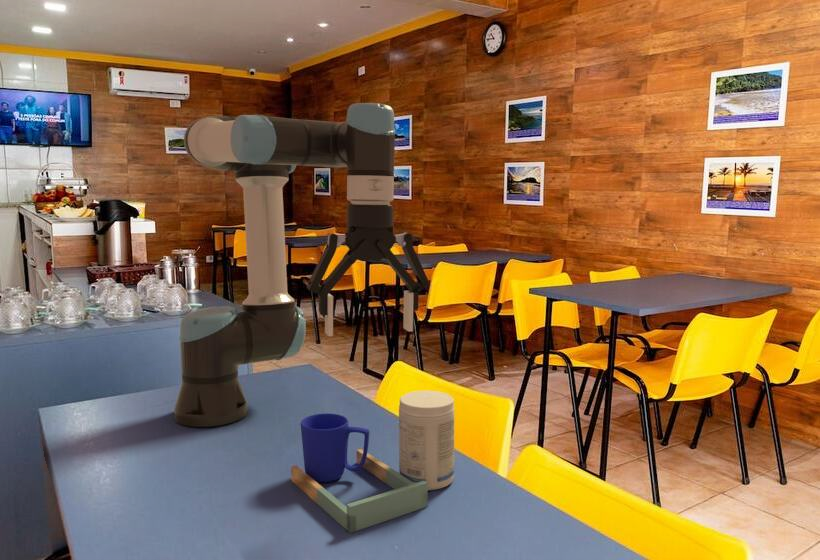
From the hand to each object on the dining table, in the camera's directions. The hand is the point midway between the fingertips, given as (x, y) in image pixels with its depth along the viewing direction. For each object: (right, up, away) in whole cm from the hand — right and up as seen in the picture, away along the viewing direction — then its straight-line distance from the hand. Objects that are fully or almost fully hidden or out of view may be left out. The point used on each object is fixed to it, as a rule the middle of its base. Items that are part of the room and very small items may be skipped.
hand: (369, 332), depth 103 cm
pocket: (+1, -27, -4) cm, 27 cm away
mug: (-6, -26, +6) cm, 27 cm away
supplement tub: (+10, -26, +5) cm, 28 cm away
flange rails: (-5, -26, +4) cm, 27 cm away
